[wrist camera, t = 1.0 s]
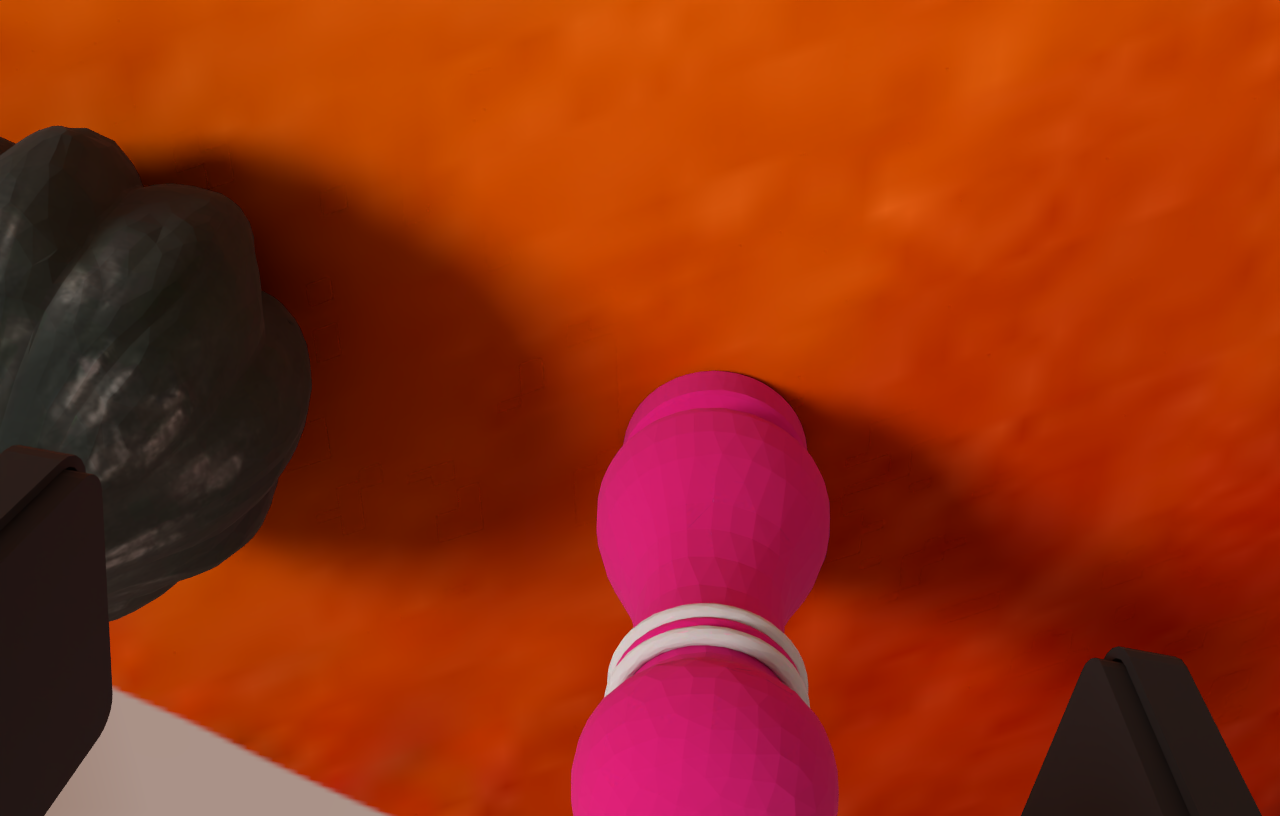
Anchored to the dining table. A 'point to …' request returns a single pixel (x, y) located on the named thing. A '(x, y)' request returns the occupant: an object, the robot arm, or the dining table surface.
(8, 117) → the dining table surface
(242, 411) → the squash
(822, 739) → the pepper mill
